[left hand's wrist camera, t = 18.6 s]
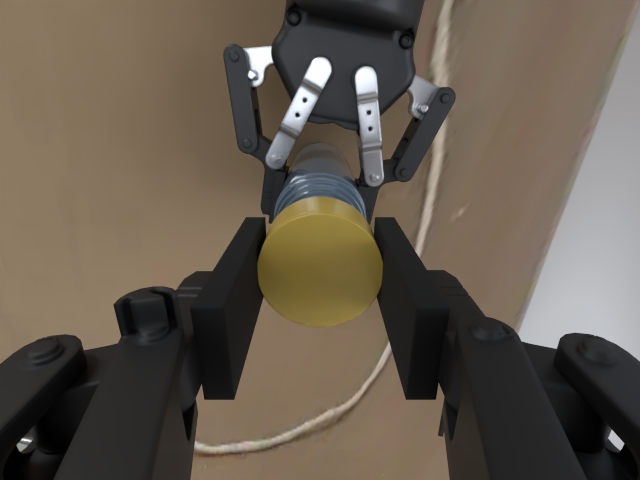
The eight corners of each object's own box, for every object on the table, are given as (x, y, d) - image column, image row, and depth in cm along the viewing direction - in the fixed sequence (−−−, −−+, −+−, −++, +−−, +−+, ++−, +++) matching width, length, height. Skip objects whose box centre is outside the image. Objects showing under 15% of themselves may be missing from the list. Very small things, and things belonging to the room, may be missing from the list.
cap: (394, 262, 15) (406, 290, 13) (306, 313, 16) (304, 346, 13) (336, 173, 13) (339, 187, 11) (243, 234, 14) (230, 258, 12)
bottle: (290, 196, 30) (253, 317, 14) (293, 140, 29) (256, 199, 12) (344, 201, 31) (374, 327, 14) (351, 145, 29) (395, 211, 12)
